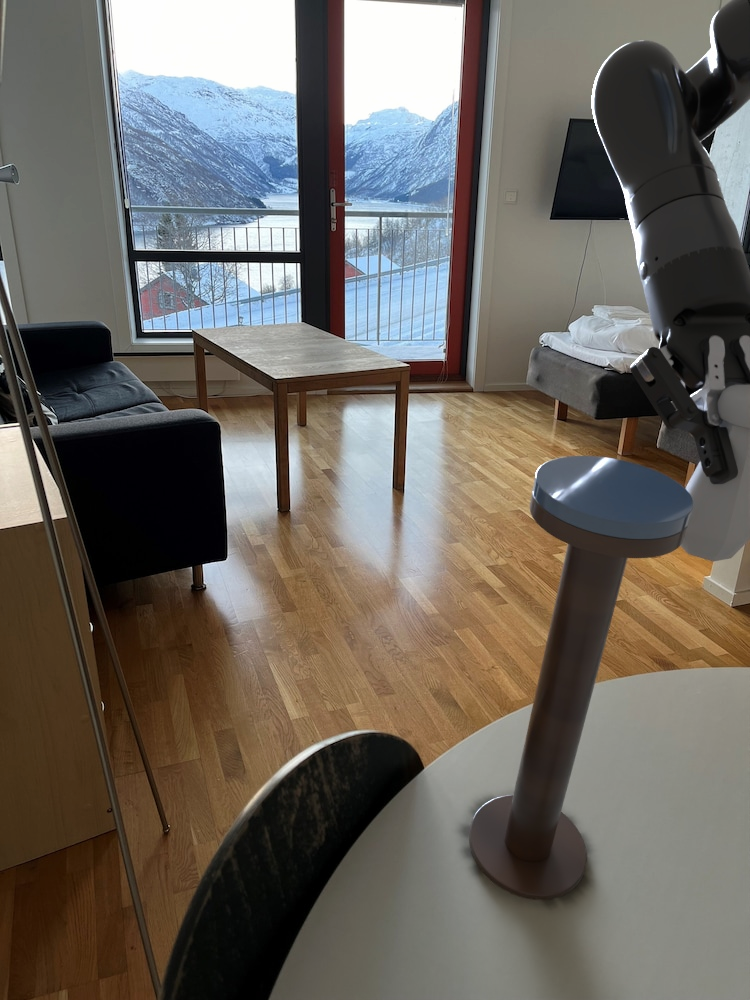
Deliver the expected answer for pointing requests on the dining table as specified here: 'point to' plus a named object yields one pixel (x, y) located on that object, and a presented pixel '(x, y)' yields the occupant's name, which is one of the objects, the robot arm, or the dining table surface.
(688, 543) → the salt shaker
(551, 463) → the blue round disc
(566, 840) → the stand
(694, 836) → the dining table surface
